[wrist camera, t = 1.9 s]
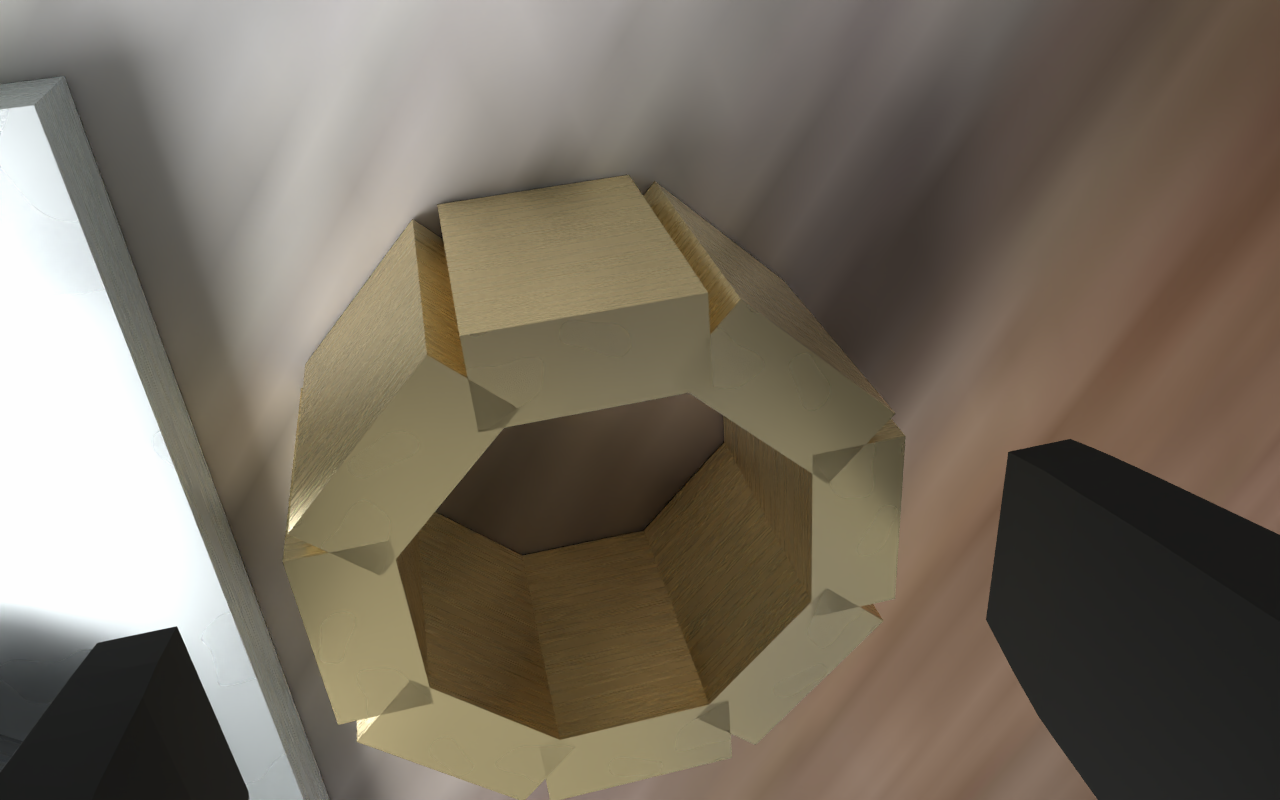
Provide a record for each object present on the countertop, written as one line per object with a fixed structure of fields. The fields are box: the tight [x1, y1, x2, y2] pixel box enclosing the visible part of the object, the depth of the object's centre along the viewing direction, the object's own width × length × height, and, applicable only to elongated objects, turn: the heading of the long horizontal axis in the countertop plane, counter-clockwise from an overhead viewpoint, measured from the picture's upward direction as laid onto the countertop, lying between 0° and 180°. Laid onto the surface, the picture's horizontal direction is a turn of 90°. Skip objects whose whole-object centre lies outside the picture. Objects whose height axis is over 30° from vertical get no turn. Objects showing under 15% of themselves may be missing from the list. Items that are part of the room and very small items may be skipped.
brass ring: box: [283, 175, 905, 800], centre depth 11 cm, size 6×6×3 cm
